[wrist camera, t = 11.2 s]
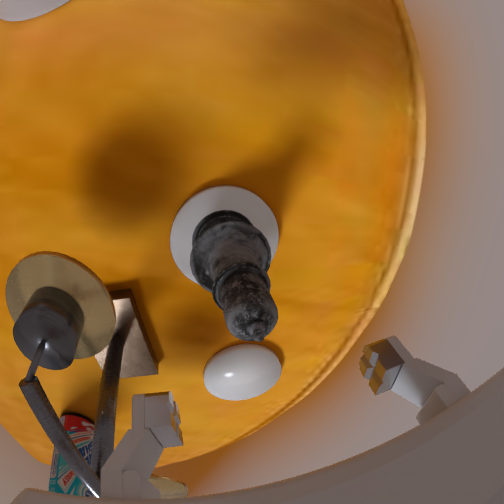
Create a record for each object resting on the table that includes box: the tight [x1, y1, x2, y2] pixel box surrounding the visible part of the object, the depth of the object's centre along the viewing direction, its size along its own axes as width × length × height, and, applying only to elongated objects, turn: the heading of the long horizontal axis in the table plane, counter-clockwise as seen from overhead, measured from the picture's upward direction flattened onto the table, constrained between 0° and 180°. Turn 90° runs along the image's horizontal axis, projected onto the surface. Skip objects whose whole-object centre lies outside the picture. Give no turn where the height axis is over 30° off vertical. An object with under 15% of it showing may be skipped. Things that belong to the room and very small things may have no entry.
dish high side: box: [203, 344, 281, 400], centre depth 33 cm, size 9×9×1 cm
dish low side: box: [170, 185, 279, 285], centre depth 25 cm, size 9×9×1 cm
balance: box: [6, 251, 188, 499], centre depth 18 cm, size 26×8×20 cm, turn 4°
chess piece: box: [190, 210, 278, 342], centre depth 19 cm, size 6×6×12 cm
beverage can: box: [49, 413, 95, 497], centre depth 26 cm, size 6×6×15 cm
